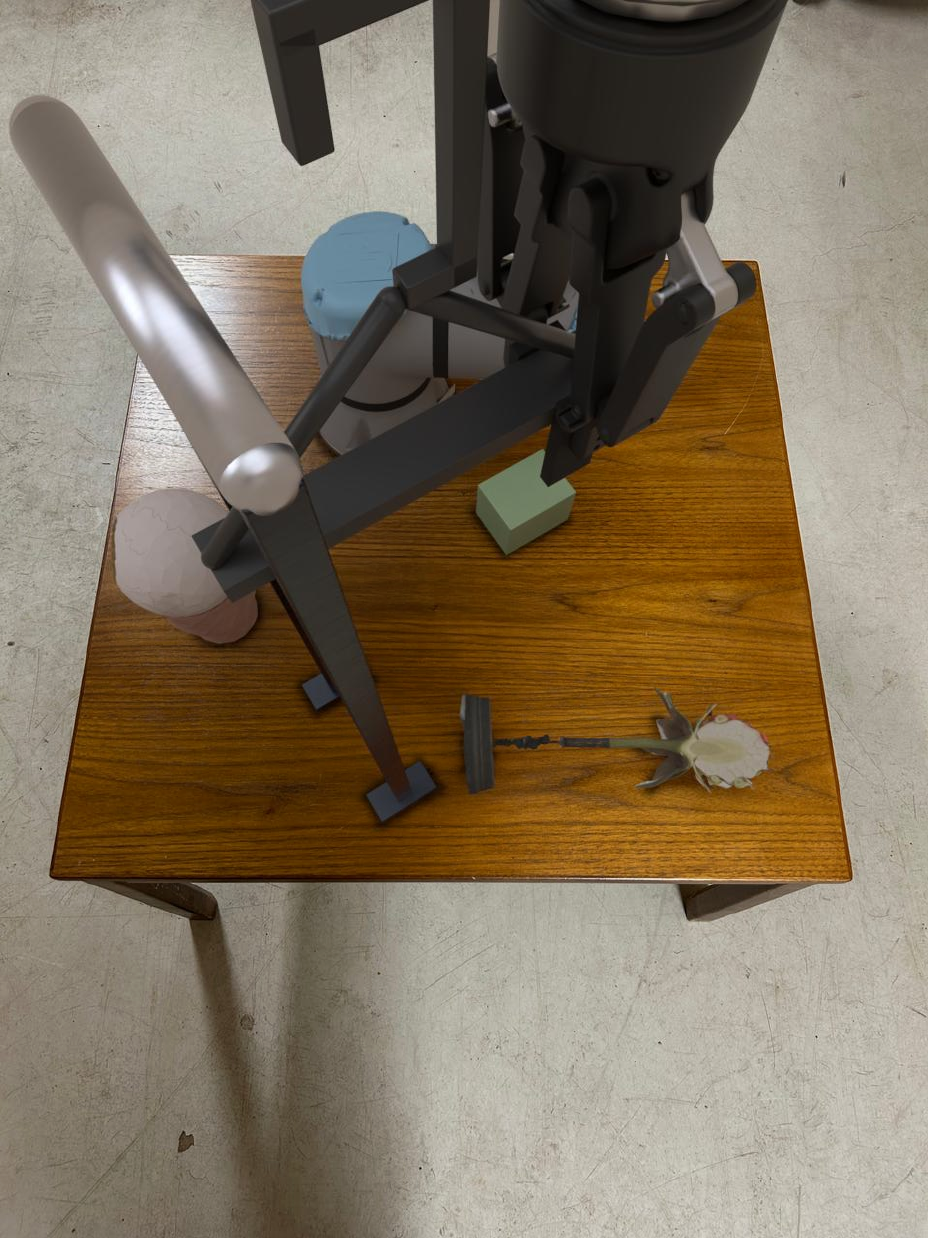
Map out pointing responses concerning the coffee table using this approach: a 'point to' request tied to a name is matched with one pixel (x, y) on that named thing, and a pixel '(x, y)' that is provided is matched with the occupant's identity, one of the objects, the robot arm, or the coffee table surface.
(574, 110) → the robot arm
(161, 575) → the ice cream cone
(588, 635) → the coffee table surface
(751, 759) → the ornament
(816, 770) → the coffee table surface
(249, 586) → the hanger
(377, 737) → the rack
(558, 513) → the block
